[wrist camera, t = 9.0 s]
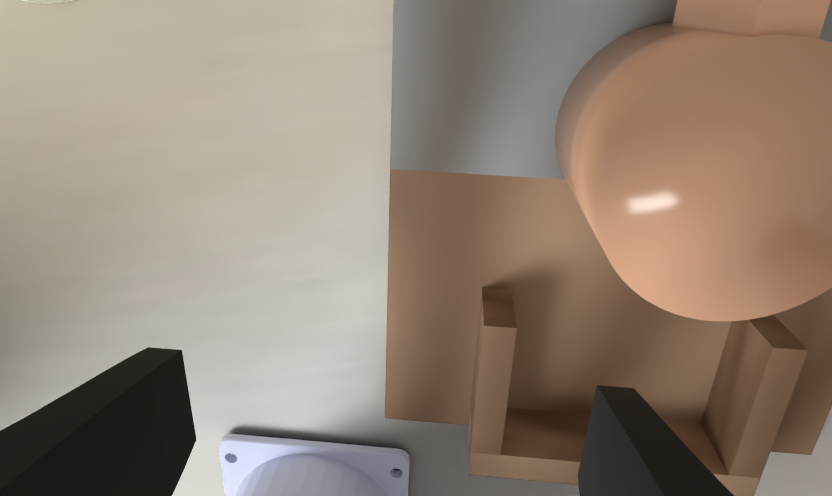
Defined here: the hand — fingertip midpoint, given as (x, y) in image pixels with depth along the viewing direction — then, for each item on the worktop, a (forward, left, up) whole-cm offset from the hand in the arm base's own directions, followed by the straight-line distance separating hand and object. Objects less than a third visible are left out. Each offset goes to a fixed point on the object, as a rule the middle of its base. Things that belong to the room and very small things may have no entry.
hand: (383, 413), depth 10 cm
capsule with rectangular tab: (+5, -7, -10) cm, 13 cm away
